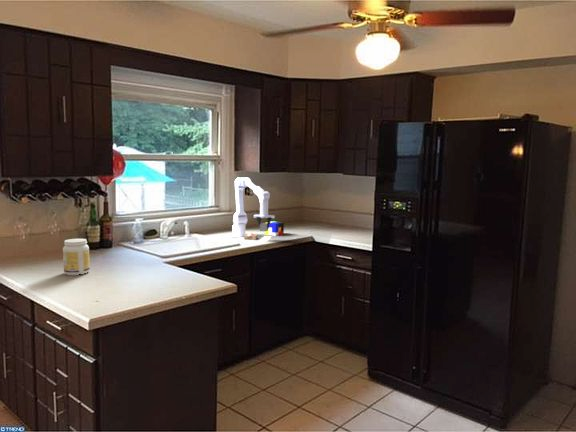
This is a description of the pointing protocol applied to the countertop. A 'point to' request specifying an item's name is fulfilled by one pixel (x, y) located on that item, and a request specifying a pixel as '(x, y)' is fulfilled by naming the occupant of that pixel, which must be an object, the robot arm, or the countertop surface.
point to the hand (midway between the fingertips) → (264, 228)
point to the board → (265, 238)
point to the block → (263, 227)
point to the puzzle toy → (275, 228)
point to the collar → (251, 237)
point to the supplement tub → (76, 257)
